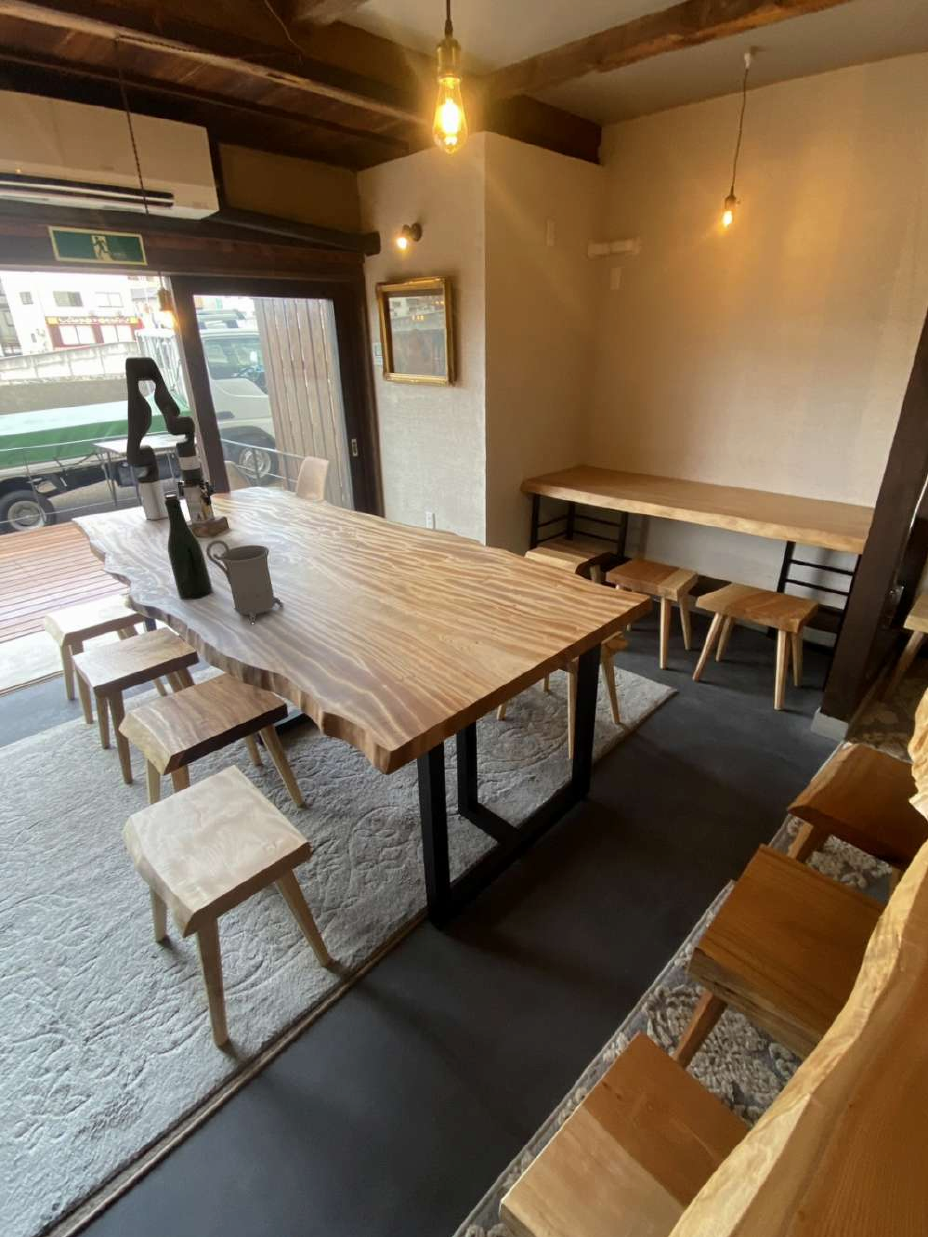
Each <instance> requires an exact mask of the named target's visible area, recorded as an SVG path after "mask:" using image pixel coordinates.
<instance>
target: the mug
mask: <svg viewBox="0 0 928 1237" xmlns="http://www.w3.org/2000/svg"><path fill="white" fill-rule="evenodd" d="M216 544H220V545H222V546H223V547H224V549H225V550H224V551H223V552H222V553H221V554H220V555H219V556H218V555H217V553H213V556H212V554H211V548H212V547H213V546H215V545H216ZM205 553H206V556H207V558H208V559H209V561H211V562H212V563H214V565H216V566H217V567H219V569H221V571H222V572H223V574H224V575H225V577H226V579H227V582H228V584H229V586H230V590H231V595H232V598H233V603H234V607H233V609H234V610H235V611H236V612H237V613H239V614H241V615H246V616H247V615H248V616H249V619H250V622H251V623H254V622H256V616H257V614H262V613H265V612H268V611H269V610H271V609H273V608H274V607H275V605H276V604H277V605H278V606H280V605H281V604H283V605H284V603H283V602H282V601H280V599H279V598H278V597H276V596H275V595H274V588H273V585H272V580H271V575H270V570H269V564H268V562H269V560H268V556H269V553H270V549H269V548H268V547H267V546H263V545H258V544H256V545H255V544H254V545H253V544H250V545H249V544H248V545H241V546H237V547H233V548H230V547H229V545H228V543H226V542H225V541H224V540H219V539H217V540H213V541H211V542H210V543H208V544H207V546H206V550H205ZM219 561H221V562H222V563H223V564H224V566H223V565H222V564H221V562H219ZM281 606H282V605H281ZM254 624H255V623H254Z"/></svg>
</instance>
